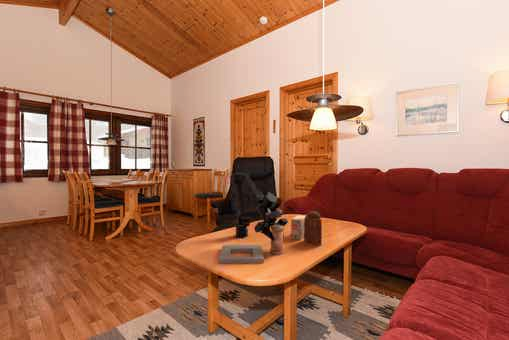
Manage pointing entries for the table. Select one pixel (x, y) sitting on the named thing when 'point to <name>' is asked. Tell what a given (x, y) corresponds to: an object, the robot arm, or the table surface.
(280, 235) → the cord spool
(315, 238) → the wooden figurine
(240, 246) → the gray square frame
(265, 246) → the table surface
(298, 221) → the stack of blocks
